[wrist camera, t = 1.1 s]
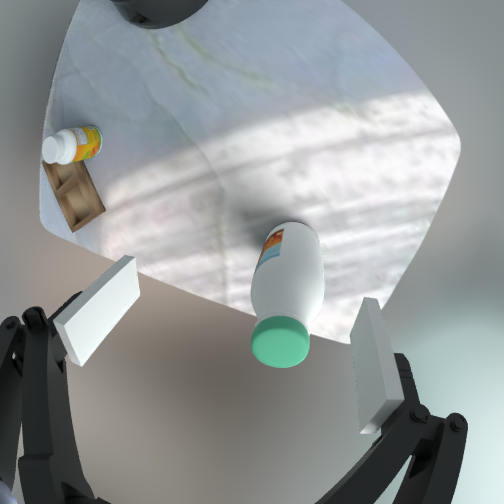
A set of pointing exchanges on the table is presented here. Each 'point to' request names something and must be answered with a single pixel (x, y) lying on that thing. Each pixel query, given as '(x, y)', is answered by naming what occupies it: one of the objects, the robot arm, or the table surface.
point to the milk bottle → (286, 294)
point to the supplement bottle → (72, 145)
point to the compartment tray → (74, 192)
